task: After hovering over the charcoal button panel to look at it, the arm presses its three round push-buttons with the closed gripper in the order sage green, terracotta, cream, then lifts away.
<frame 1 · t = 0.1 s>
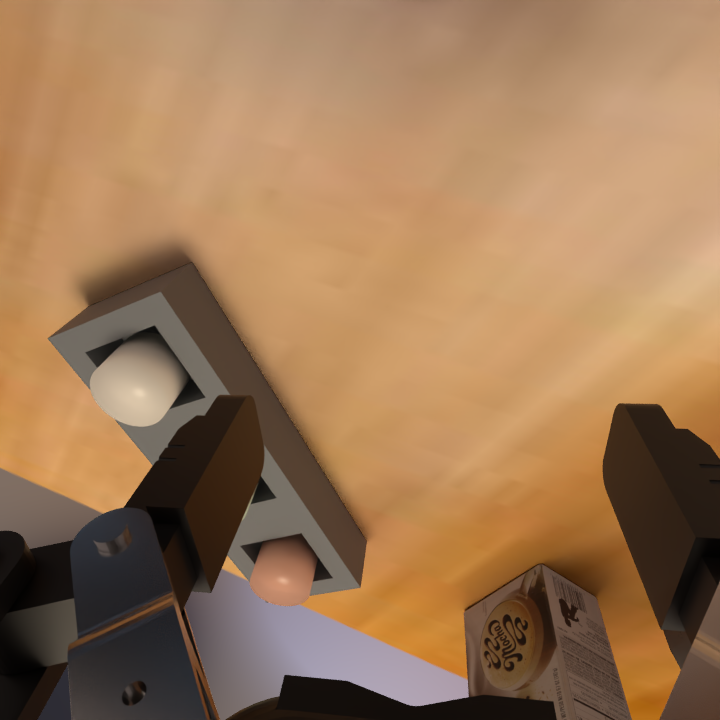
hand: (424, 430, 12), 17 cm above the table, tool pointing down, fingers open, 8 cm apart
terracotta button: (285, 567, 36), point 4 cm above the table, slide at 0.0 cm
coffee box: (528, 601, 42), on the table
button panel: (244, 438, 36), on the table
sage button: (222, 484, 33), point 4 cm above the table, slide at 0.0 cm
cream button: (142, 379, 29), point 4 cm above the table, slide at 0.0 cm
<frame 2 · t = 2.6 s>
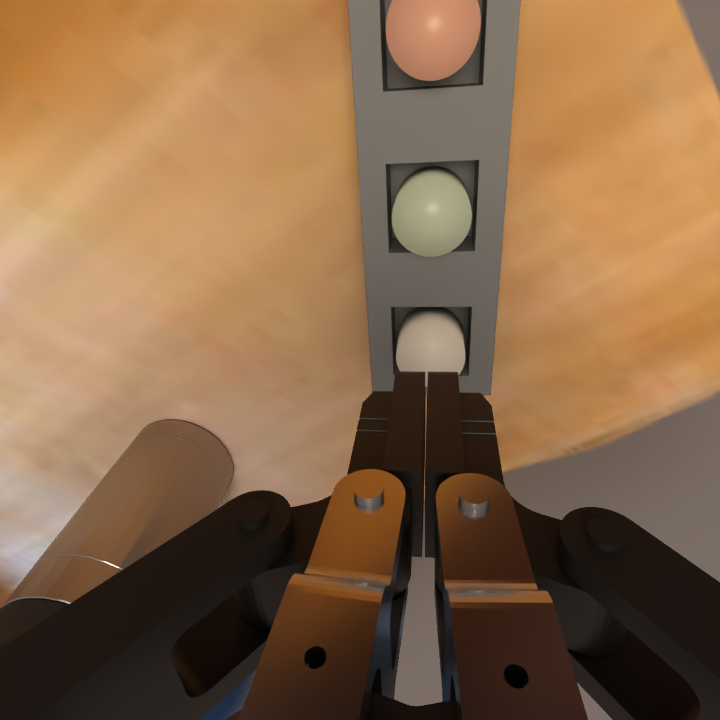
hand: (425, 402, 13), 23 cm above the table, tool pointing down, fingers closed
terracotta button: (432, 29, 24), point 4 cm above the table, slide at 0.0 cm
button panel: (432, 193, 32), on the table
sage button: (431, 210, 29), point 4 cm above the table, slide at 0.0 cm
cream button: (430, 345, 33), point 4 cm above the table, slide at 0.0 cm
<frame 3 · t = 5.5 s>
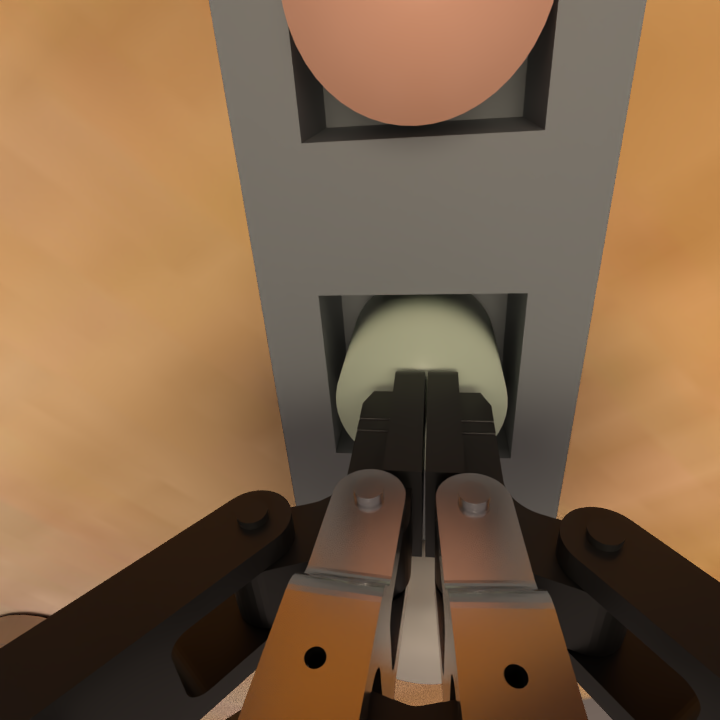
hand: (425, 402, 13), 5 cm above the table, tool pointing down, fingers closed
button panel: (423, 317, 17), on the table
sage button: (421, 371, 14), point 3 cm above the table, slide at 1.0 cm, touching gripper
cream button: (421, 600, 17), point 4 cm above the table, slide at 0.0 cm
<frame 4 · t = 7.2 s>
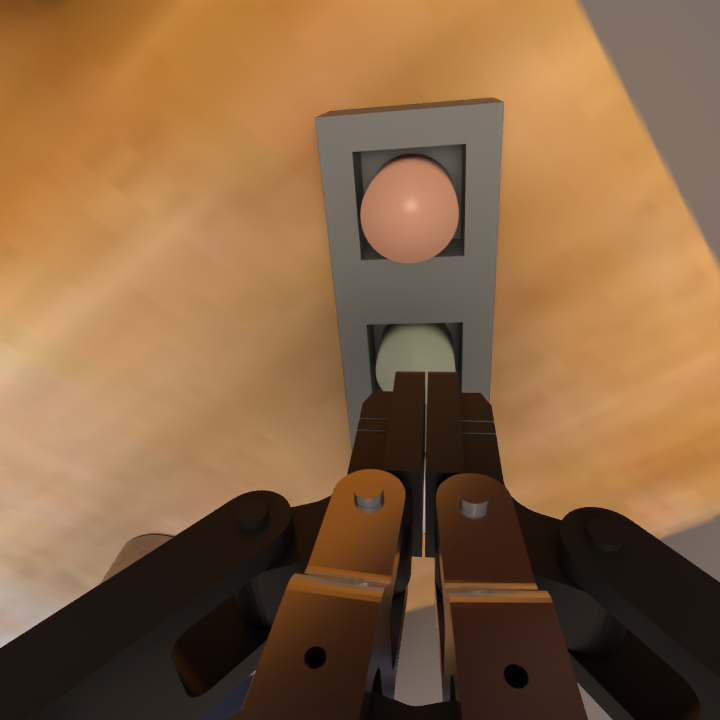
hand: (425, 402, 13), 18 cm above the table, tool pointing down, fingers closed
terracotta button: (410, 207, 23), point 4 cm above the table, slide at 0.0 cm
button panel: (416, 332, 31), on the table
sage button: (415, 357, 29), point 3 cm above the table, slide at 1.2 cm
cream button: (419, 488, 32), point 4 cm above the table, slide at 0.0 cm
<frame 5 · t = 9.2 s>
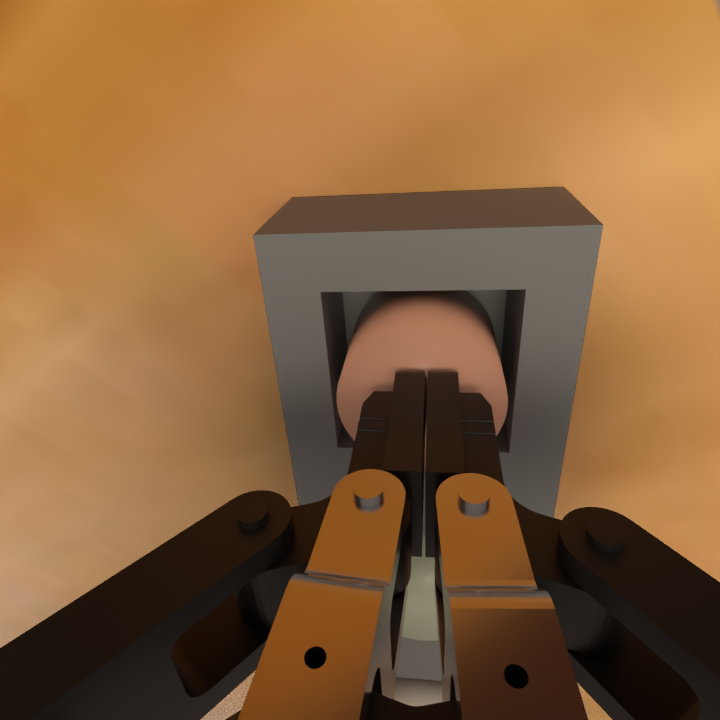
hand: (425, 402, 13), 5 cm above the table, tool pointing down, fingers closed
terracotta button: (421, 371, 14), point 4 cm above the table, slide at 0.7 cm, touching gripper
button panel: (424, 500, 21), on the table
sage button: (422, 563, 19), point 3 cm above the table, slide at 1.2 cm
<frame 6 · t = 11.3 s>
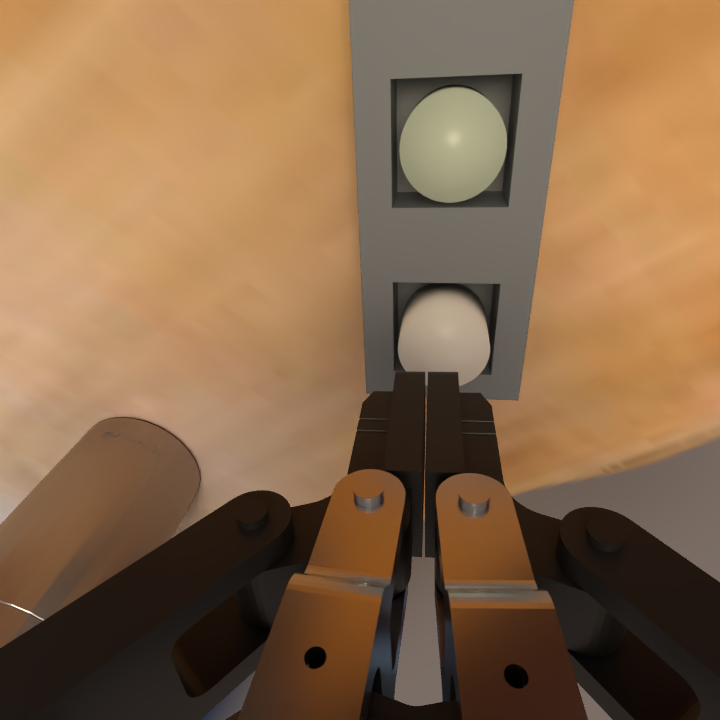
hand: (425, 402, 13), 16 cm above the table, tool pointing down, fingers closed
button panel: (451, 132, 24), on the table
sage button: (451, 142, 22), point 3 cm above the table, slide at 1.2 cm
cream button: (443, 334, 25), point 4 cm above the table, slide at 0.0 cm
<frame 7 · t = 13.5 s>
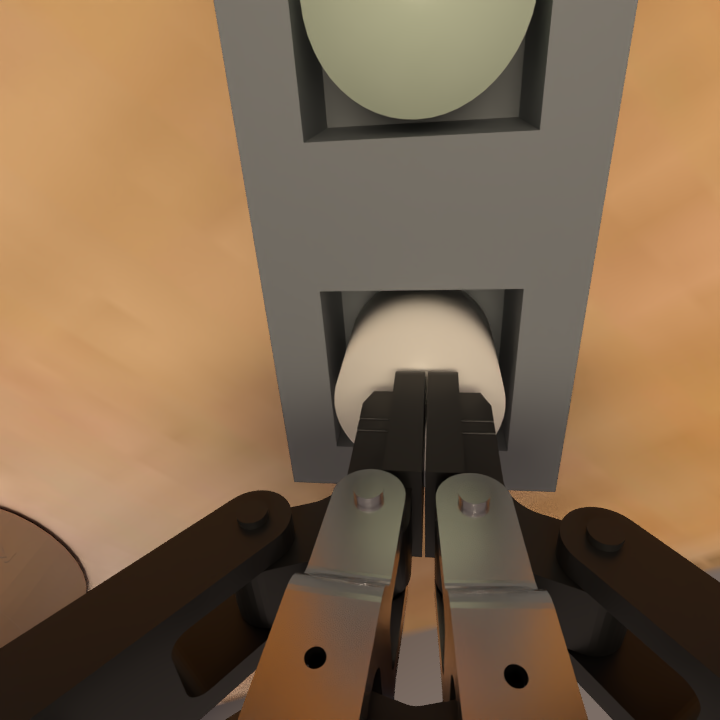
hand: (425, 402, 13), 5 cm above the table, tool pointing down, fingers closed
button panel: (420, 11, 13), on the table
cream button: (419, 372, 14), point 4 cm above the table, slide at 0.6 cm, touching gripper
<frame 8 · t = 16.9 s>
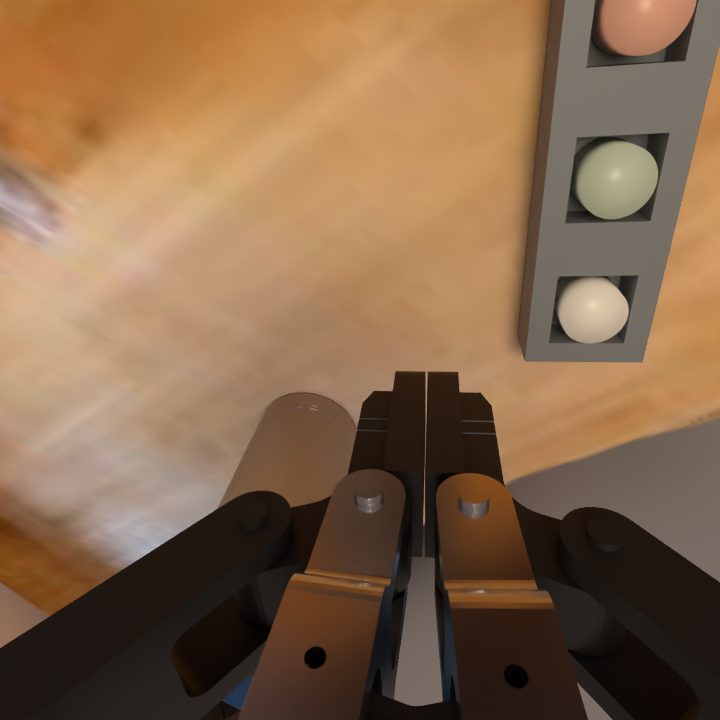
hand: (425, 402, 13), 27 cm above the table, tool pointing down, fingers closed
terracotta button: (639, 9, 27), point 3 cm above the table, slide at 1.2 cm
button panel: (596, 168, 34), on the table
sage button: (610, 177, 31), point 3 cm above the table, slide at 1.2 cm
cream button: (588, 305, 36), point 3 cm above the table, slide at 1.2 cm
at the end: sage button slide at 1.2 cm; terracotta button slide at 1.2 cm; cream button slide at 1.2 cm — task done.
